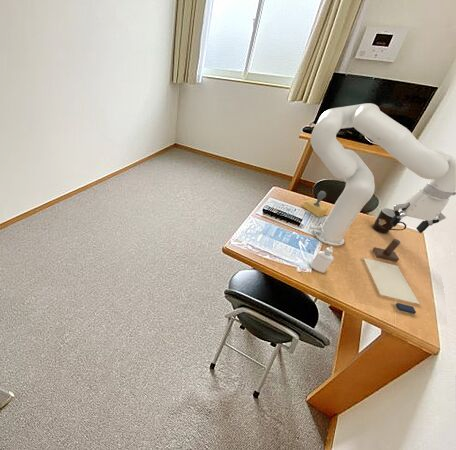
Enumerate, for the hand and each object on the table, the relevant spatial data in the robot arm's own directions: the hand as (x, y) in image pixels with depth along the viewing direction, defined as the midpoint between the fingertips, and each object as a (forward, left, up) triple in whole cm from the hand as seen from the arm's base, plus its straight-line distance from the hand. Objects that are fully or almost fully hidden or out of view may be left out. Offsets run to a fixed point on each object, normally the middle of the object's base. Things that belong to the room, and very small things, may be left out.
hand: (405, 227), depth 109 cm
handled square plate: (+1, 0, -16) cm, 16 cm away
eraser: (-3, -30, -16) cm, 34 cm away
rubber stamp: (-24, +28, -17) cm, 40 cm away
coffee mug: (+7, +22, -17) cm, 28 cm away
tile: (-3, -15, -16) cm, 23 cm away
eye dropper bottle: (-30, -18, -17) cm, 39 cm away
